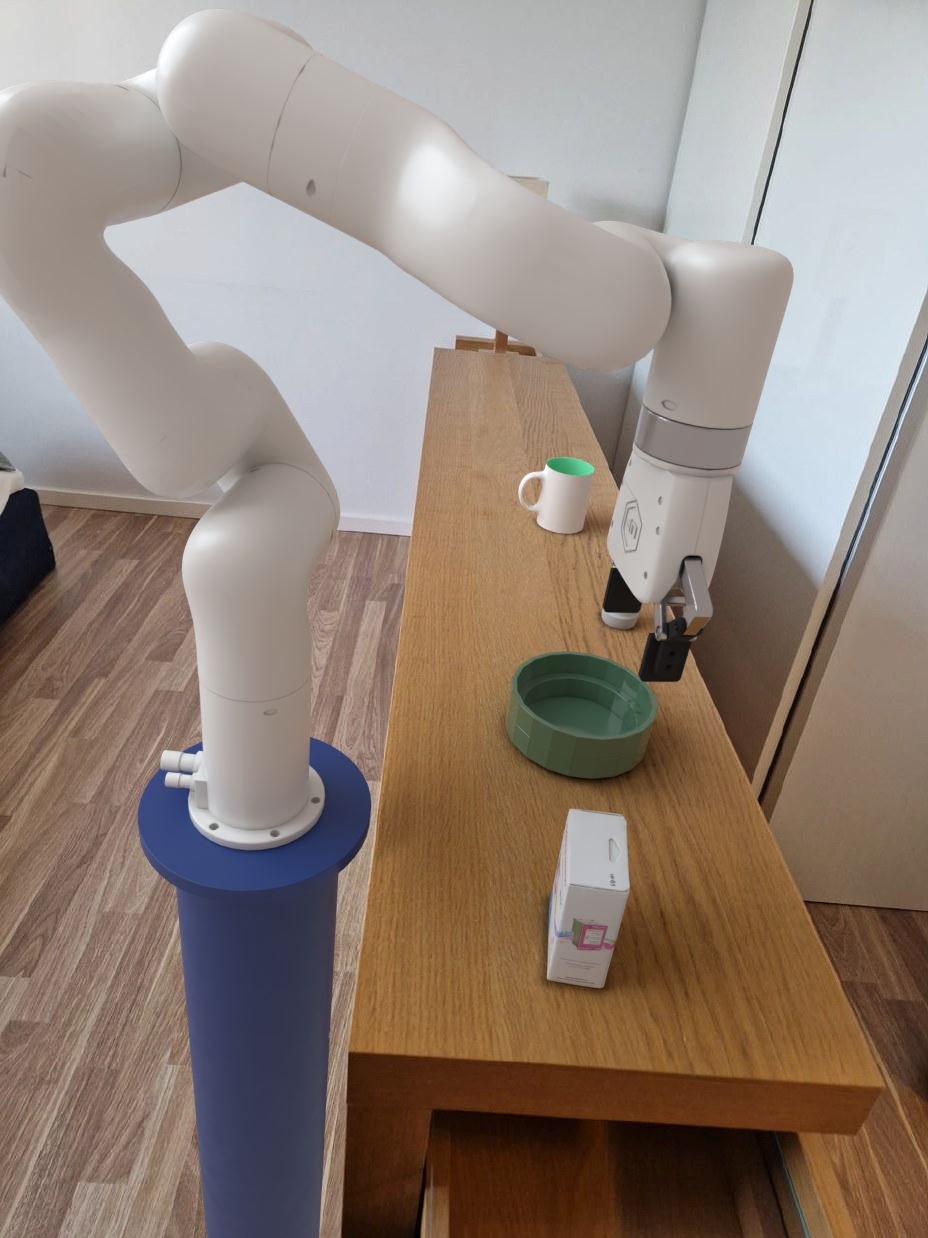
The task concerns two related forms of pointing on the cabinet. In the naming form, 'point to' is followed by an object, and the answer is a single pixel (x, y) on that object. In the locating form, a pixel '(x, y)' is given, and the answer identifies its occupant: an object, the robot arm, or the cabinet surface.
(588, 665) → the bowl
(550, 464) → the mug
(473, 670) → the cabinet surface
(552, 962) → the ink box
